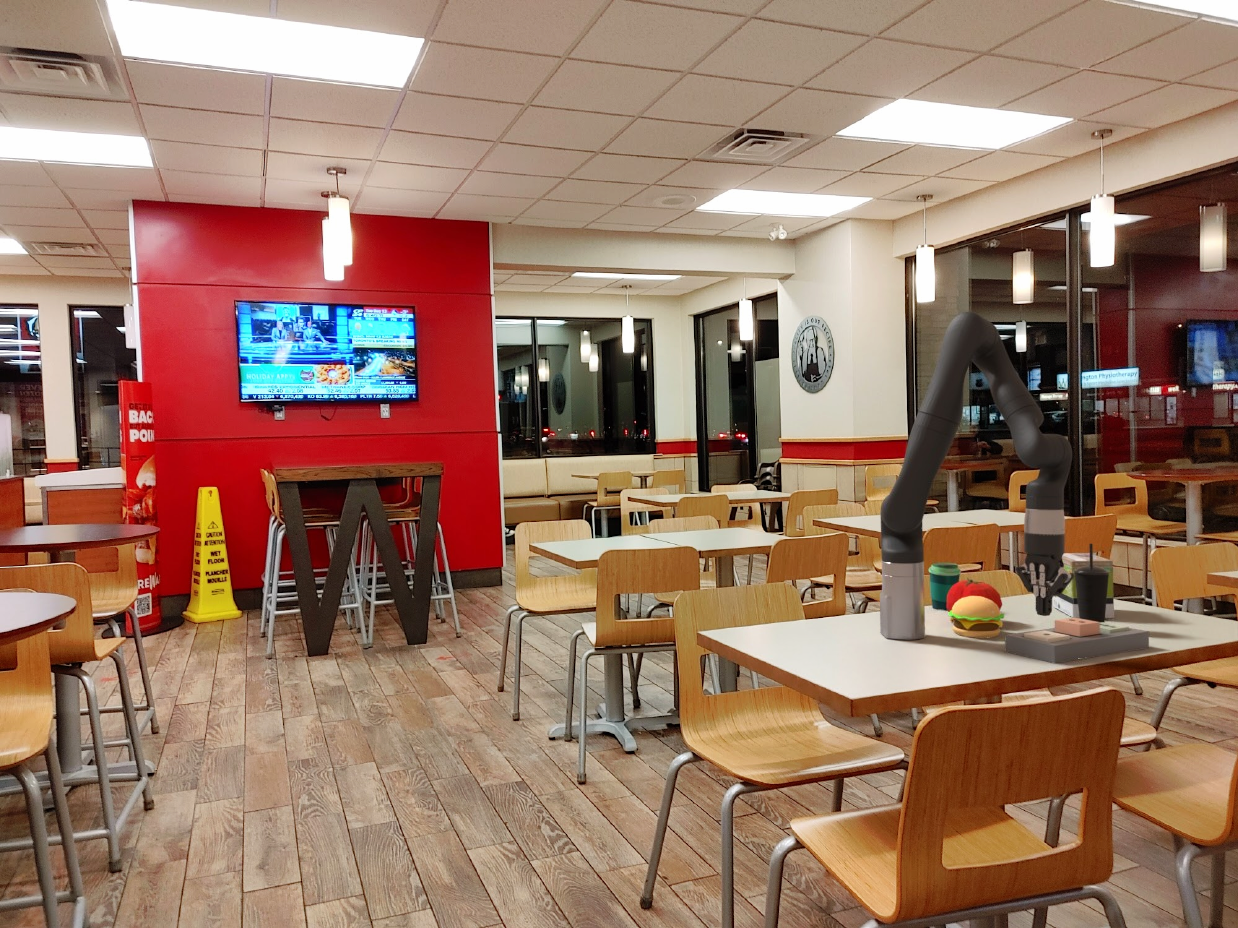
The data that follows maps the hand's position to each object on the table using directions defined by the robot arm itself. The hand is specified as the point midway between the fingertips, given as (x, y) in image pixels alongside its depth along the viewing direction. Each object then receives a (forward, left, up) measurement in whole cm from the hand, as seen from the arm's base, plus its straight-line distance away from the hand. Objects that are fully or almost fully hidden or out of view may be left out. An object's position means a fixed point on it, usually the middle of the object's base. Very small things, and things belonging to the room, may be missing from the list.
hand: (1043, 614), depth 181 cm
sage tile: (+17, +9, -6) cm, 20 cm away
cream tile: (+1, +1, -7) cm, 7 cm away
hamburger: (-6, +22, -9) cm, 24 cm away
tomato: (-2, +35, -9) cm, 36 cm away
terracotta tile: (+9, +5, -5) cm, 11 cm away
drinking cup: (+22, +26, -9) cm, 35 cm away
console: (+9, +5, -8) cm, 13 cm away
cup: (-3, +54, -9) cm, 54 cm away
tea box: (+29, +46, -9) cm, 55 cm away
